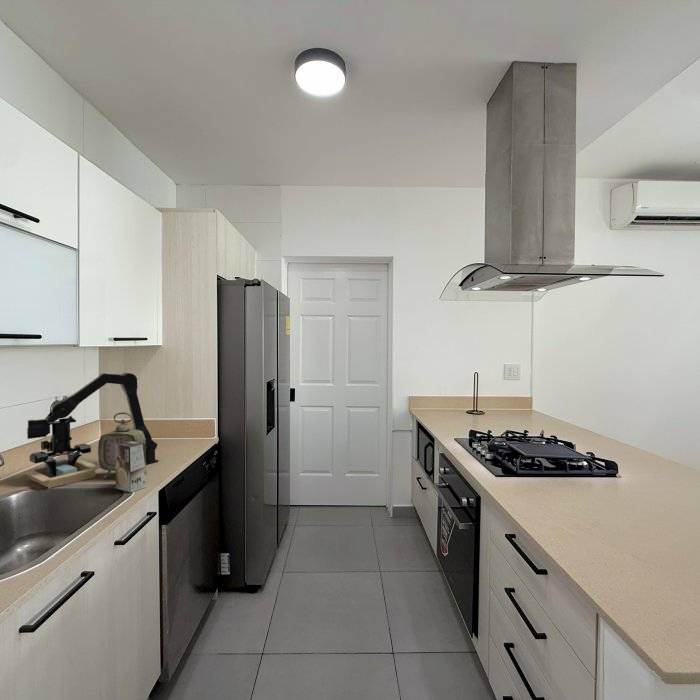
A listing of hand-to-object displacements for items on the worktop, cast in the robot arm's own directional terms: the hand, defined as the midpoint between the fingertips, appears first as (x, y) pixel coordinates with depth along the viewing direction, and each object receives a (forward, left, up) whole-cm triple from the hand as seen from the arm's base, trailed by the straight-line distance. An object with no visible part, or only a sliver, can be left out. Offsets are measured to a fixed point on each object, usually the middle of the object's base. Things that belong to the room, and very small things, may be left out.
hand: (61, 475), depth 156 cm
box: (-1, 0, -1) cm, 1 cm away
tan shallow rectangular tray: (-1, 0, -1) cm, 1 cm away
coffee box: (-33, -10, -1) cm, 34 cm away
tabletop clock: (-18, -15, -1) cm, 23 cm away
